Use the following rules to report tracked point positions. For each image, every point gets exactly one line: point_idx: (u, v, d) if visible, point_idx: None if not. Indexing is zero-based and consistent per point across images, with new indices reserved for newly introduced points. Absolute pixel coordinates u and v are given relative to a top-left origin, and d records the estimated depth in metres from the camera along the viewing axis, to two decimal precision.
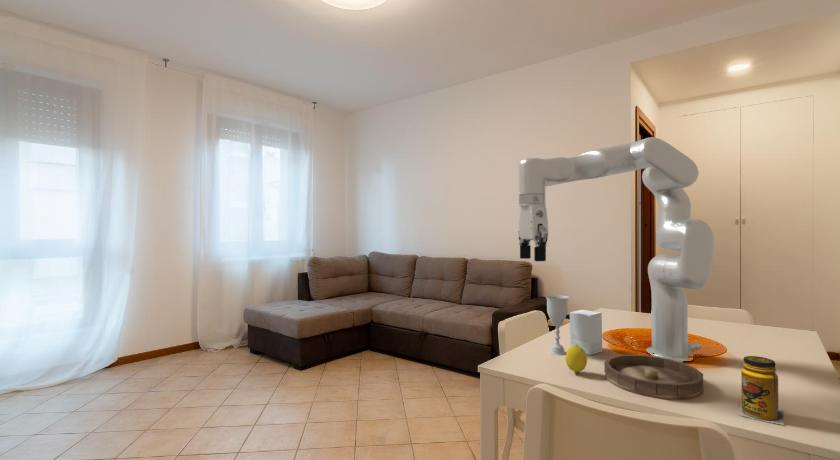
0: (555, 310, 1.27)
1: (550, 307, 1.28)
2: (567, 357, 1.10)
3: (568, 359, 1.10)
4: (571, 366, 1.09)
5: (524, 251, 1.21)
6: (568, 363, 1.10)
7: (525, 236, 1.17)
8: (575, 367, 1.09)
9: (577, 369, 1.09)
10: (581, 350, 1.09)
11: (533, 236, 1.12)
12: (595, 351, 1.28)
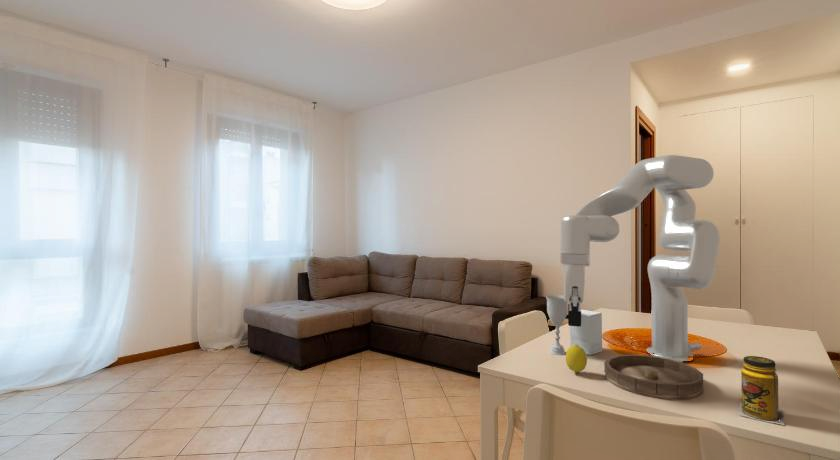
0: (555, 310, 1.27)
1: (550, 307, 1.28)
2: (567, 357, 1.10)
3: (568, 359, 1.10)
4: (571, 366, 1.09)
5: None
6: (568, 363, 1.10)
7: None
8: (575, 367, 1.09)
9: (577, 369, 1.09)
10: (581, 350, 1.09)
11: None
12: (595, 351, 1.28)
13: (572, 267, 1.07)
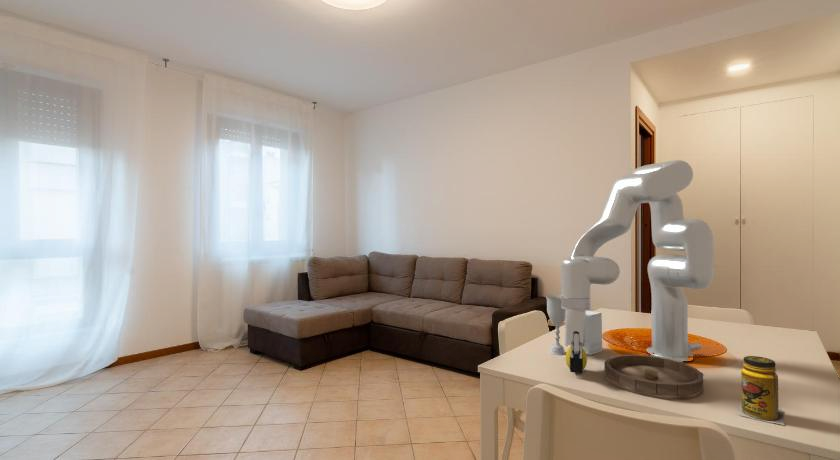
0: (555, 310, 1.27)
1: (550, 307, 1.28)
2: (567, 357, 1.10)
3: (568, 359, 1.10)
4: None
5: None
6: (568, 363, 1.10)
7: None
8: None
9: None
10: None
11: None
12: (595, 351, 1.28)
13: (573, 312, 1.07)
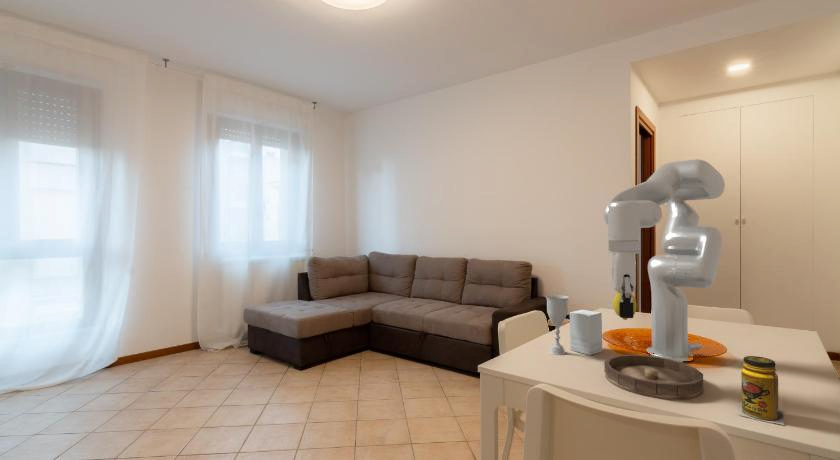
0: (555, 310, 1.27)
1: (550, 307, 1.28)
2: (616, 303, 1.06)
3: (616, 305, 1.06)
4: None
5: None
6: (617, 309, 1.06)
7: None
8: None
9: None
10: None
11: None
12: (595, 351, 1.28)
13: (623, 255, 1.03)
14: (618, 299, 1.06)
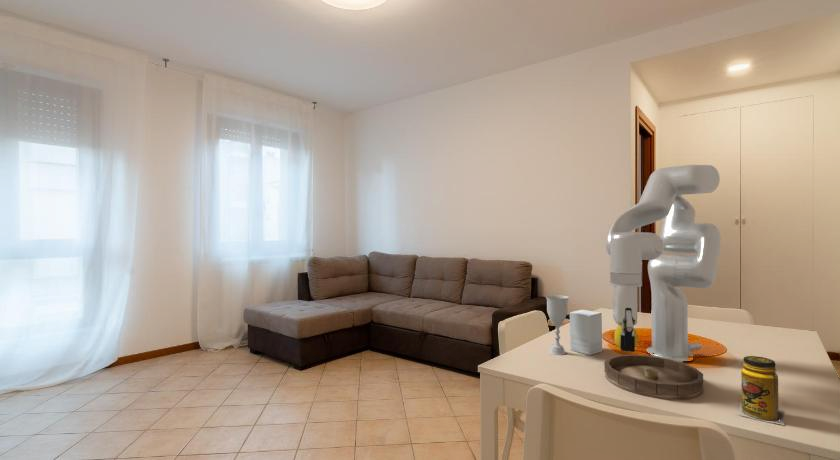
0: (555, 310, 1.27)
1: (550, 307, 1.28)
2: (617, 335, 1.06)
3: (618, 337, 1.06)
4: None
5: None
6: (618, 342, 1.06)
7: None
8: None
9: None
10: None
11: None
12: (595, 351, 1.28)
13: (625, 288, 1.02)
14: (619, 332, 1.05)
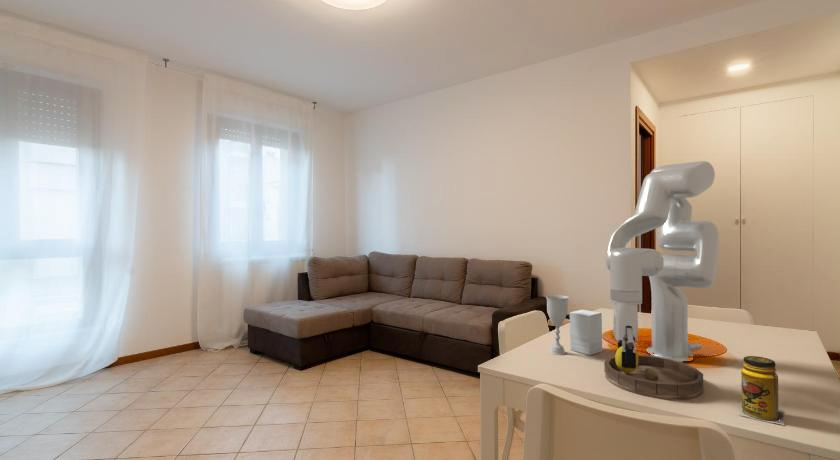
0: (555, 310, 1.27)
1: (550, 307, 1.28)
2: (618, 358, 1.06)
3: (618, 359, 1.06)
4: (622, 367, 1.05)
5: None
6: (619, 364, 1.06)
7: None
8: (626, 368, 1.05)
9: (629, 370, 1.05)
10: None
11: None
12: (595, 351, 1.28)
13: (625, 306, 1.03)
14: (620, 354, 1.06)
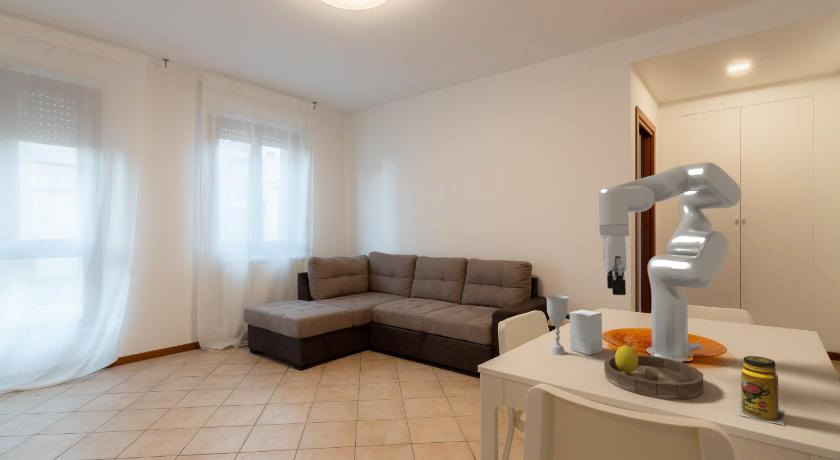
0: (555, 310, 1.27)
1: (550, 307, 1.28)
2: (617, 358, 1.06)
3: (618, 359, 1.06)
4: (622, 367, 1.05)
5: None
6: (619, 364, 1.06)
7: (623, 266, 1.13)
8: (626, 368, 1.05)
9: (629, 370, 1.05)
10: (632, 350, 1.05)
11: None
12: (595, 351, 1.28)
13: (614, 238, 1.09)
14: (620, 354, 1.06)
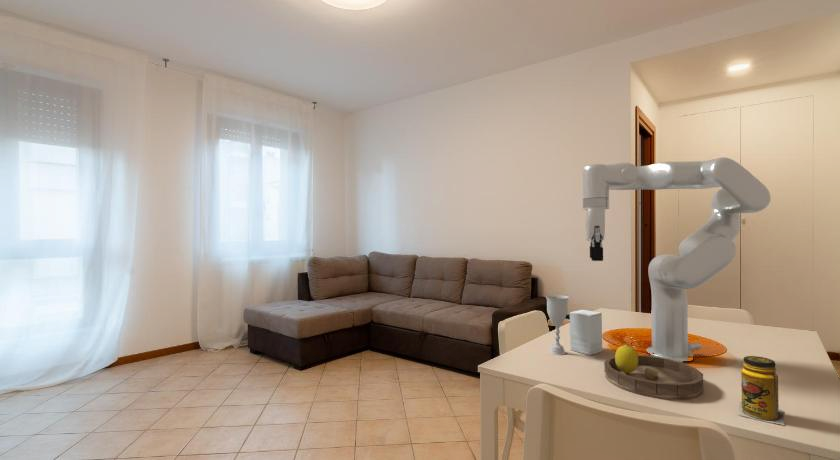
0: (555, 310, 1.27)
1: (550, 307, 1.28)
2: (617, 358, 1.06)
3: (618, 359, 1.06)
4: (622, 367, 1.05)
5: None
6: (619, 364, 1.06)
7: None
8: (626, 368, 1.05)
9: (629, 370, 1.05)
10: (632, 350, 1.05)
11: None
12: (595, 351, 1.28)
13: (594, 209, 1.21)
14: (620, 354, 1.06)
